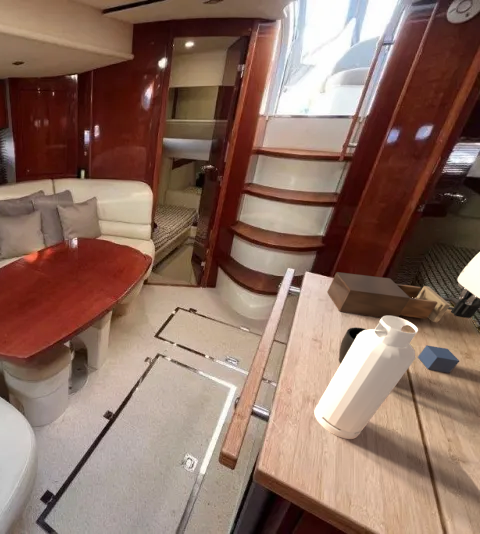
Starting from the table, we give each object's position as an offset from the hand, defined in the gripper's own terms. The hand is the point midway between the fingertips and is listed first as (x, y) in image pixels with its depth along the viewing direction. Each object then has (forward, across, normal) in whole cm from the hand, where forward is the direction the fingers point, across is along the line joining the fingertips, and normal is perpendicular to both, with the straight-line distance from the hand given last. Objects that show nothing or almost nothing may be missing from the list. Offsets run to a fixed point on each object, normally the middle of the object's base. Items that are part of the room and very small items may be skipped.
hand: (460, 315), depth 78 cm
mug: (+13, -15, +23) cm, 30 cm away
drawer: (+12, +19, -4) cm, 22 cm away
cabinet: (+13, +18, +10) cm, 25 cm away
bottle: (+13, -33, +32) cm, 48 cm away
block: (+13, -6, +3) cm, 14 cm away
